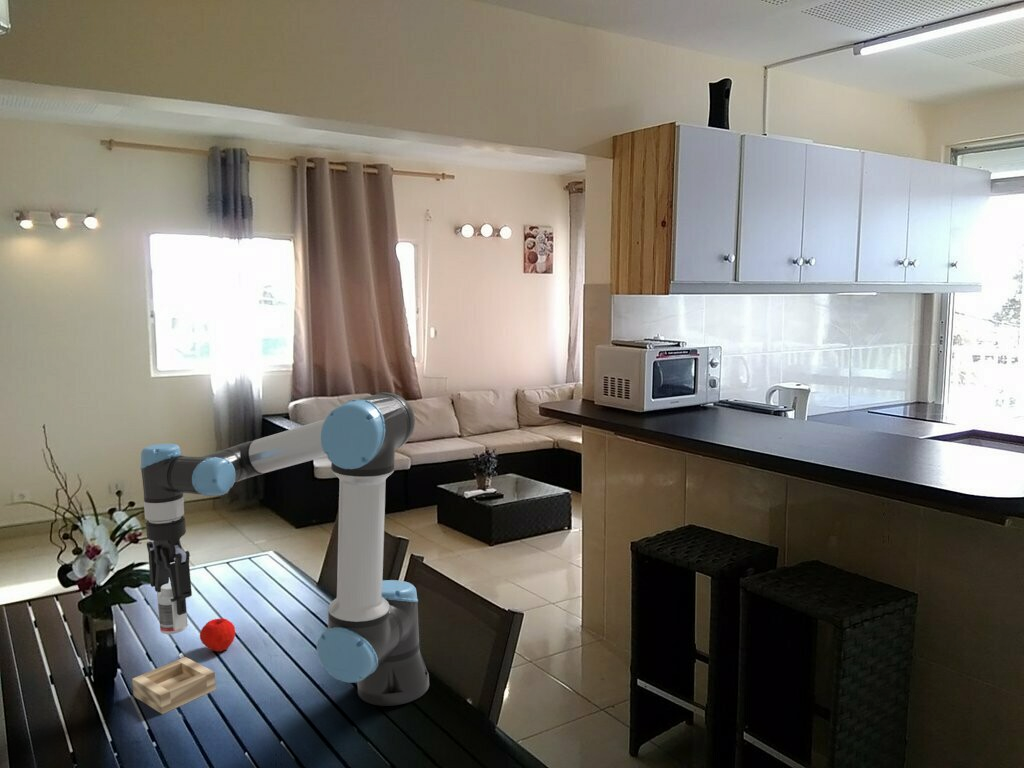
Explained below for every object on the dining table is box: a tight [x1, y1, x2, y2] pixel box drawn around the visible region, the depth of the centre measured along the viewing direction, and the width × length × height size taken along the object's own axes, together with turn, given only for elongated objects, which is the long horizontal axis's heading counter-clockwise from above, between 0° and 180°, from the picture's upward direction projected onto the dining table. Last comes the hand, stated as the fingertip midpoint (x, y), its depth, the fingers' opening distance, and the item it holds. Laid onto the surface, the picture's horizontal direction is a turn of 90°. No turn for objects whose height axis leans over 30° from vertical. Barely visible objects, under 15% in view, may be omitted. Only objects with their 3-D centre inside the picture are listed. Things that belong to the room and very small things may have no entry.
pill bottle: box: [157, 582, 188, 635], centre depth 166 cm, size 5×5×10 cm
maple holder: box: [131, 656, 217, 715], centre depth 167 cm, size 12×12×4 cm
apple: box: [199, 617, 236, 652], centre depth 187 cm, size 8×8×7 cm
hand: (173, 623), depth 166 cm, fingers closed on pill bottle, 5 cm apart
